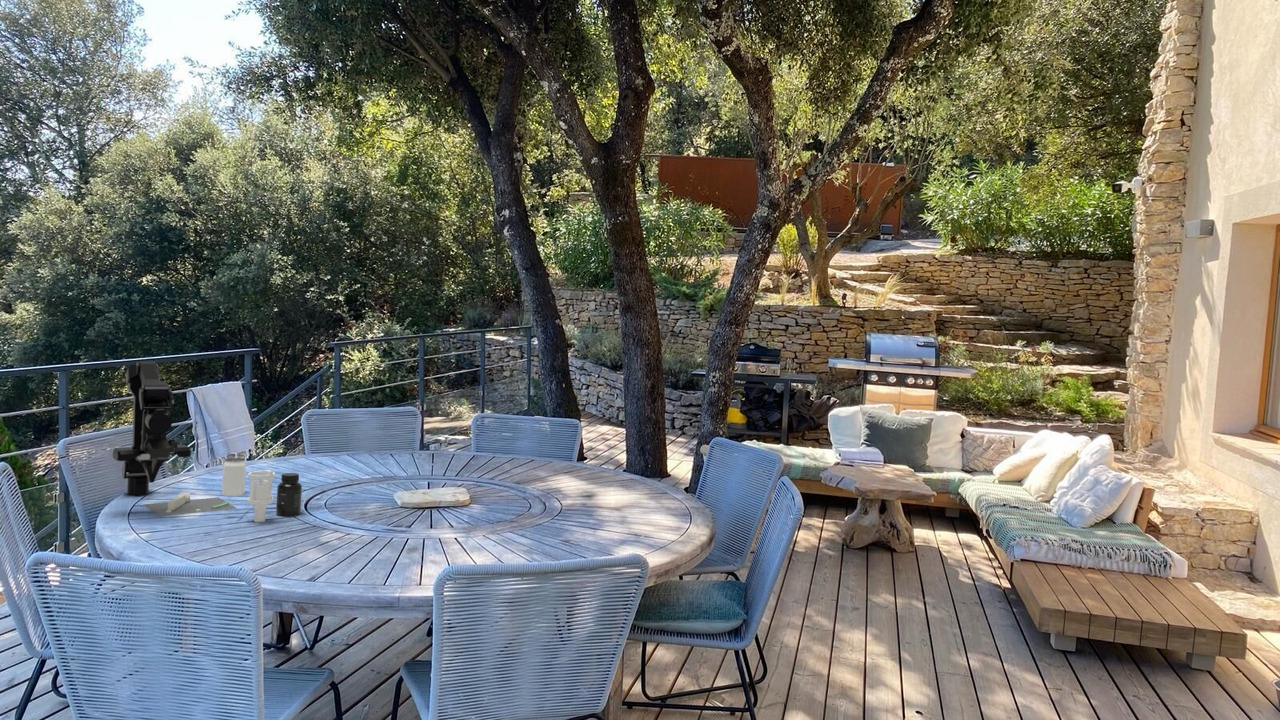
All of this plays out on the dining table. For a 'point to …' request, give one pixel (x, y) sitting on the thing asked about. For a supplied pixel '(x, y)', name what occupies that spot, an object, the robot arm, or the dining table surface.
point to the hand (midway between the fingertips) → (151, 482)
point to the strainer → (260, 492)
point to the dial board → (191, 507)
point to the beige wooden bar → (178, 501)
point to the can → (234, 477)
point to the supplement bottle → (289, 495)
